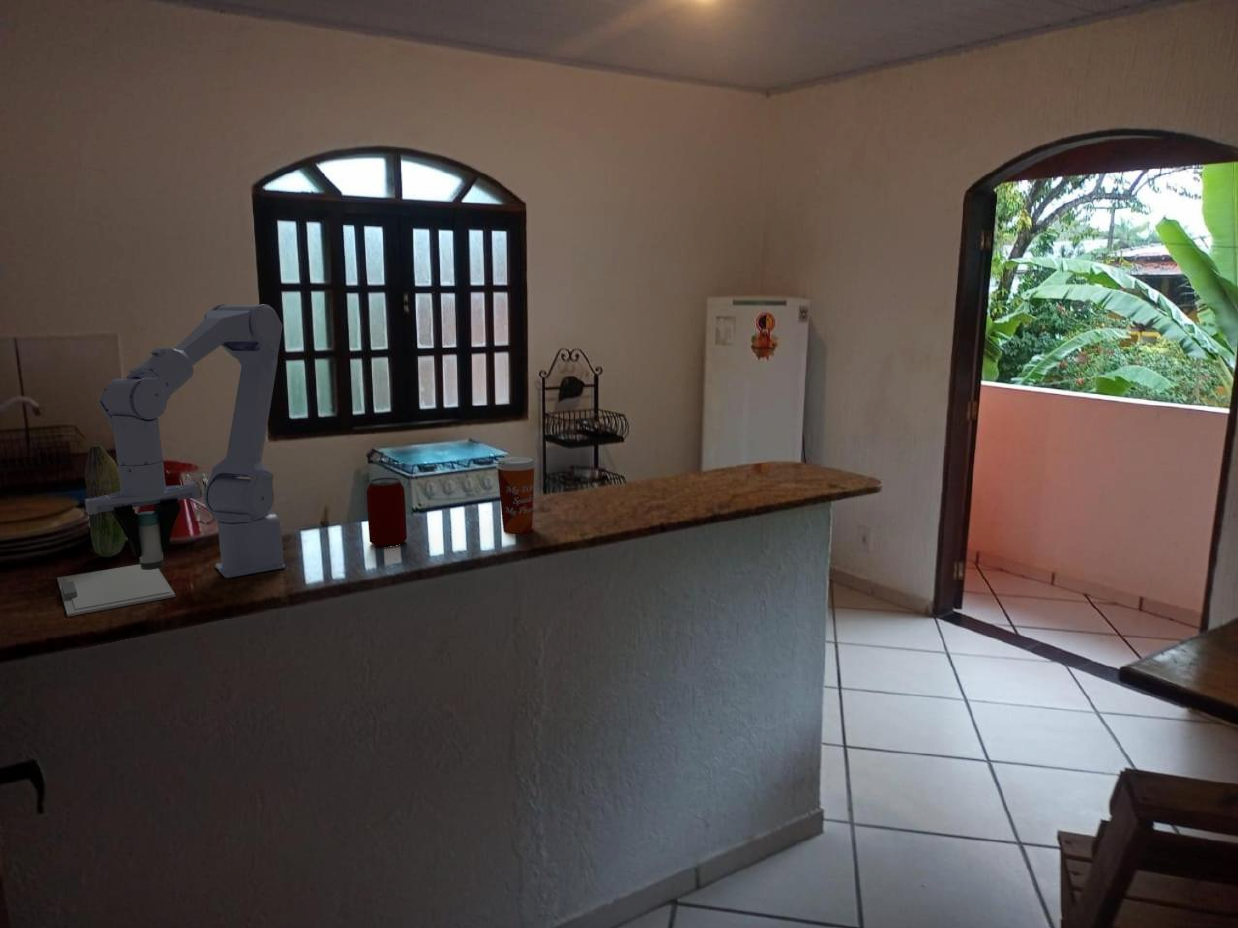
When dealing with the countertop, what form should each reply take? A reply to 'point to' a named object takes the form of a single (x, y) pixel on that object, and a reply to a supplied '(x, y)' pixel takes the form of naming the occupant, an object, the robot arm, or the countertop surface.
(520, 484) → the paper cup
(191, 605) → the countertop surface
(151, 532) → the white cylinder
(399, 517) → the beverage can
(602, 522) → the countertop surface
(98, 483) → the vegetable
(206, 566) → the countertop surface
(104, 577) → the clipboard
